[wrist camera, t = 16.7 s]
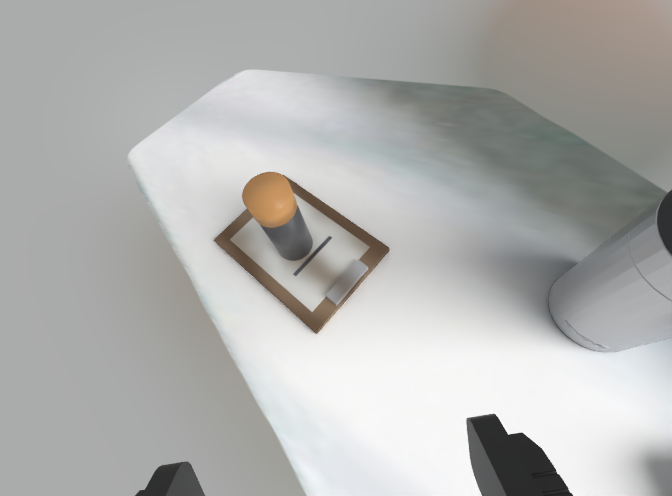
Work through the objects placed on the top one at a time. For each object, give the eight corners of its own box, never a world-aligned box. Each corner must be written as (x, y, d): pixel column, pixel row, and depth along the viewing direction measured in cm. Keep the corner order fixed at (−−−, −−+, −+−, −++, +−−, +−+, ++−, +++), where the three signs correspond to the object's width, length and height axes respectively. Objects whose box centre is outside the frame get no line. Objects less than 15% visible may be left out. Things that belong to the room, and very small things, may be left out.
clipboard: (284, 177, 51) (281, 170, 50) (389, 250, 43) (389, 244, 42) (216, 242, 48) (210, 236, 46) (316, 333, 40) (313, 330, 38)
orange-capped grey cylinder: (294, 221, 46) (266, 164, 36) (321, 240, 44) (300, 186, 34) (269, 247, 45) (232, 196, 34) (295, 268, 43) (265, 221, 32)
